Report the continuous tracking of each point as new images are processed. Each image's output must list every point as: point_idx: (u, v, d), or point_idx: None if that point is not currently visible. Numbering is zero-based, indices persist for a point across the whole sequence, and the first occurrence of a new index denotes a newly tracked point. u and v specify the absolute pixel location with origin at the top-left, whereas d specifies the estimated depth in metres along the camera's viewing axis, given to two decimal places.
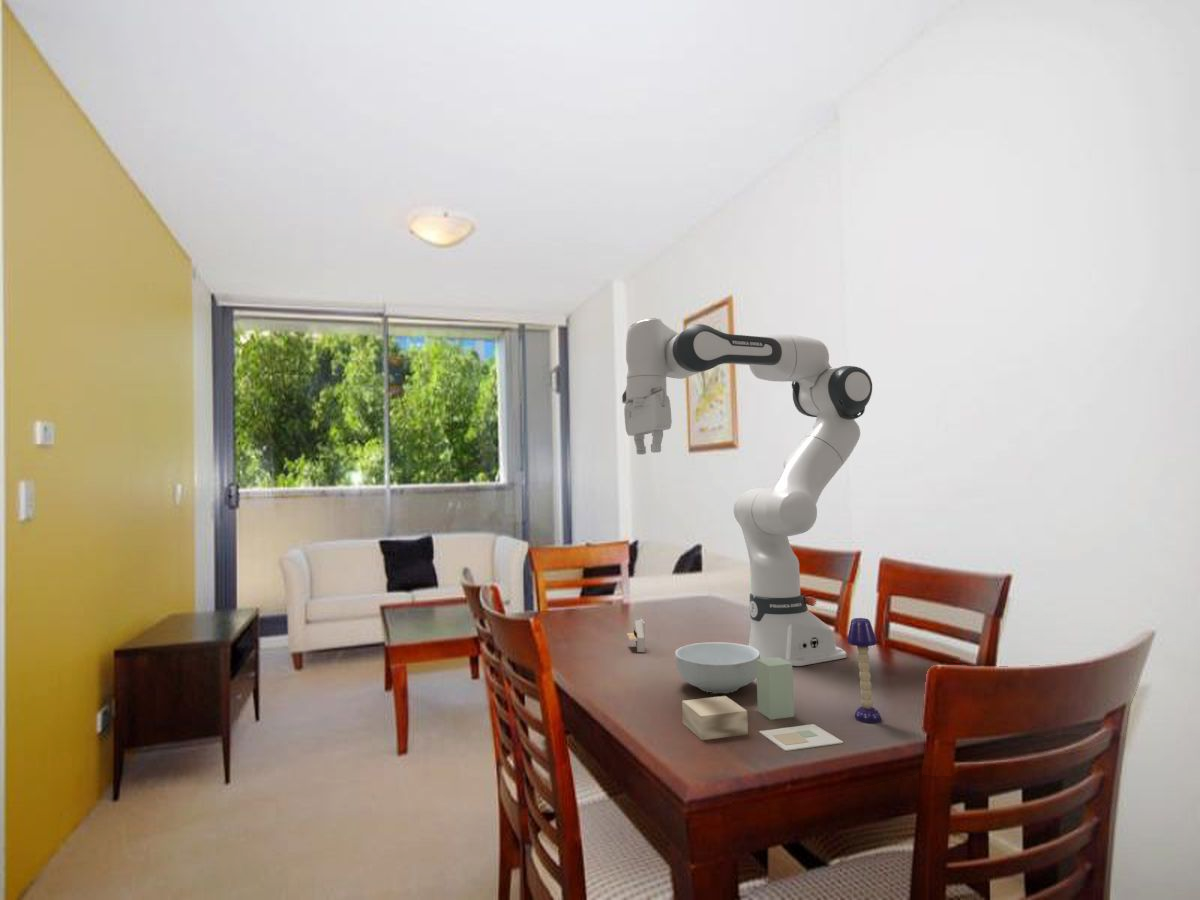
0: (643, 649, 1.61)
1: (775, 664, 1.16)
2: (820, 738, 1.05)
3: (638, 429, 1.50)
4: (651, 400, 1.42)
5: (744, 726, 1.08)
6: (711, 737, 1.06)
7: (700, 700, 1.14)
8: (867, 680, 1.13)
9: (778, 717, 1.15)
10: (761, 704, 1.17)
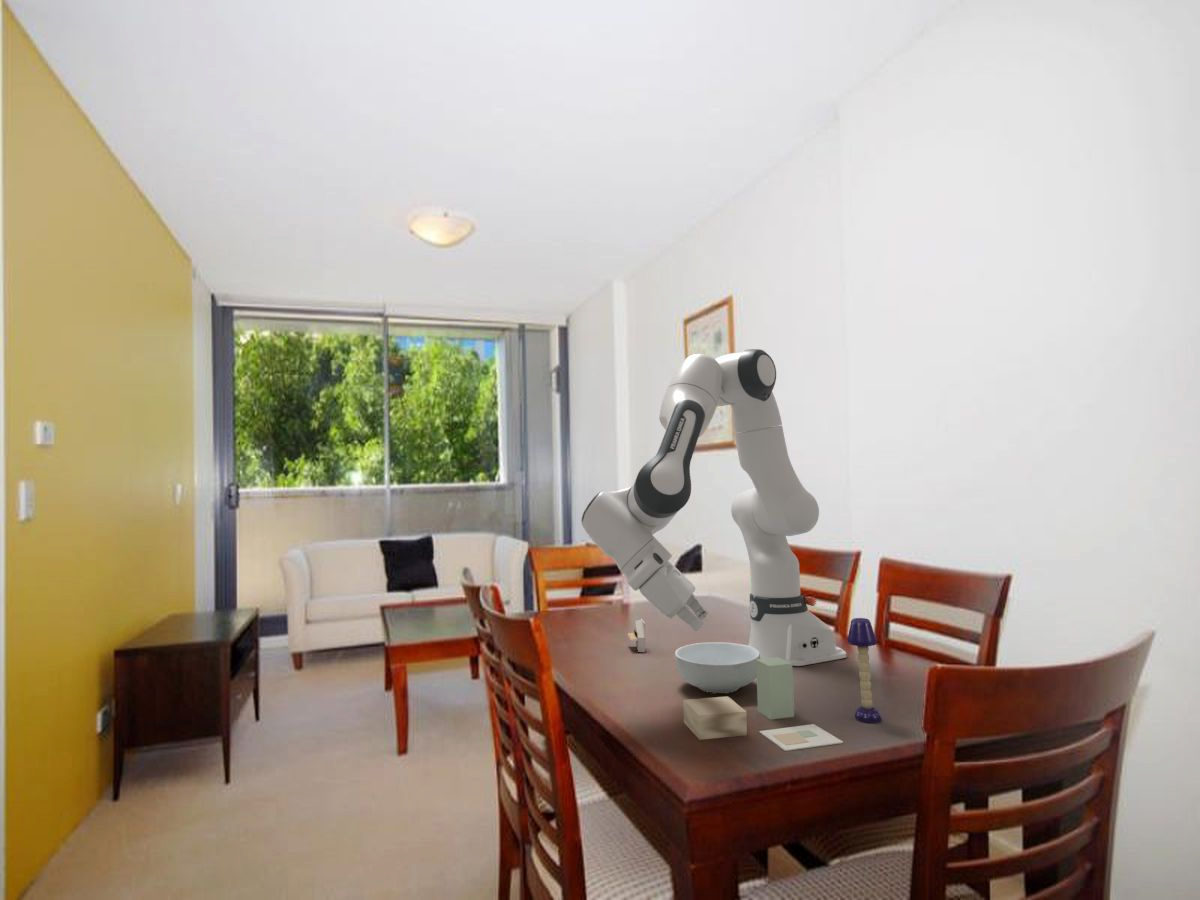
0: (643, 649, 1.61)
1: (775, 664, 1.16)
2: (820, 738, 1.05)
3: (687, 593, 1.21)
4: (673, 566, 1.30)
5: (743, 727, 1.08)
6: (709, 737, 1.06)
7: (701, 700, 1.14)
8: (867, 680, 1.13)
9: (778, 717, 1.15)
10: (761, 704, 1.17)
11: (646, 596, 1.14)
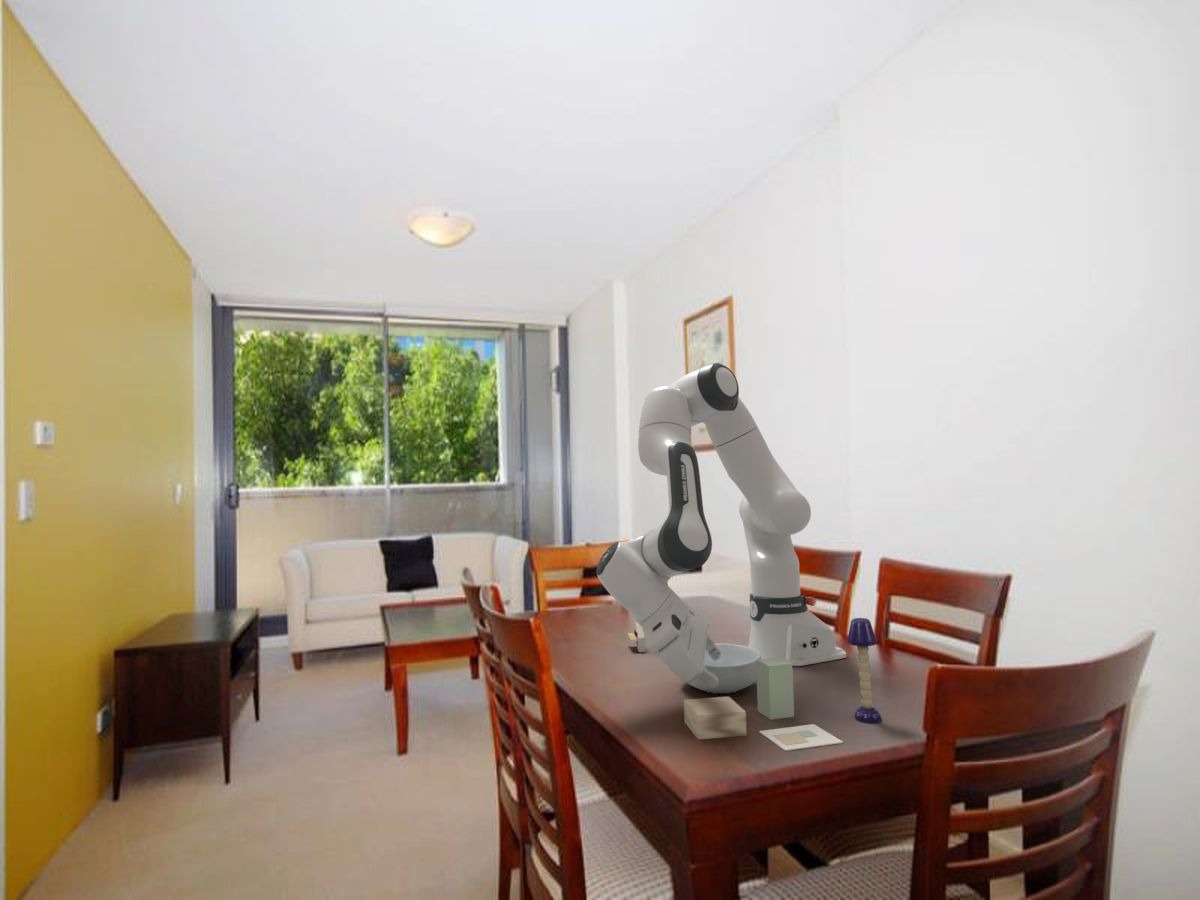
0: (644, 649, 1.61)
1: (775, 664, 1.16)
2: (820, 738, 1.05)
3: (703, 646, 1.23)
4: (687, 605, 1.31)
5: (742, 727, 1.07)
6: (708, 737, 1.06)
7: (702, 700, 1.14)
8: (867, 680, 1.13)
9: (778, 717, 1.15)
10: (761, 704, 1.17)
11: (665, 663, 1.16)
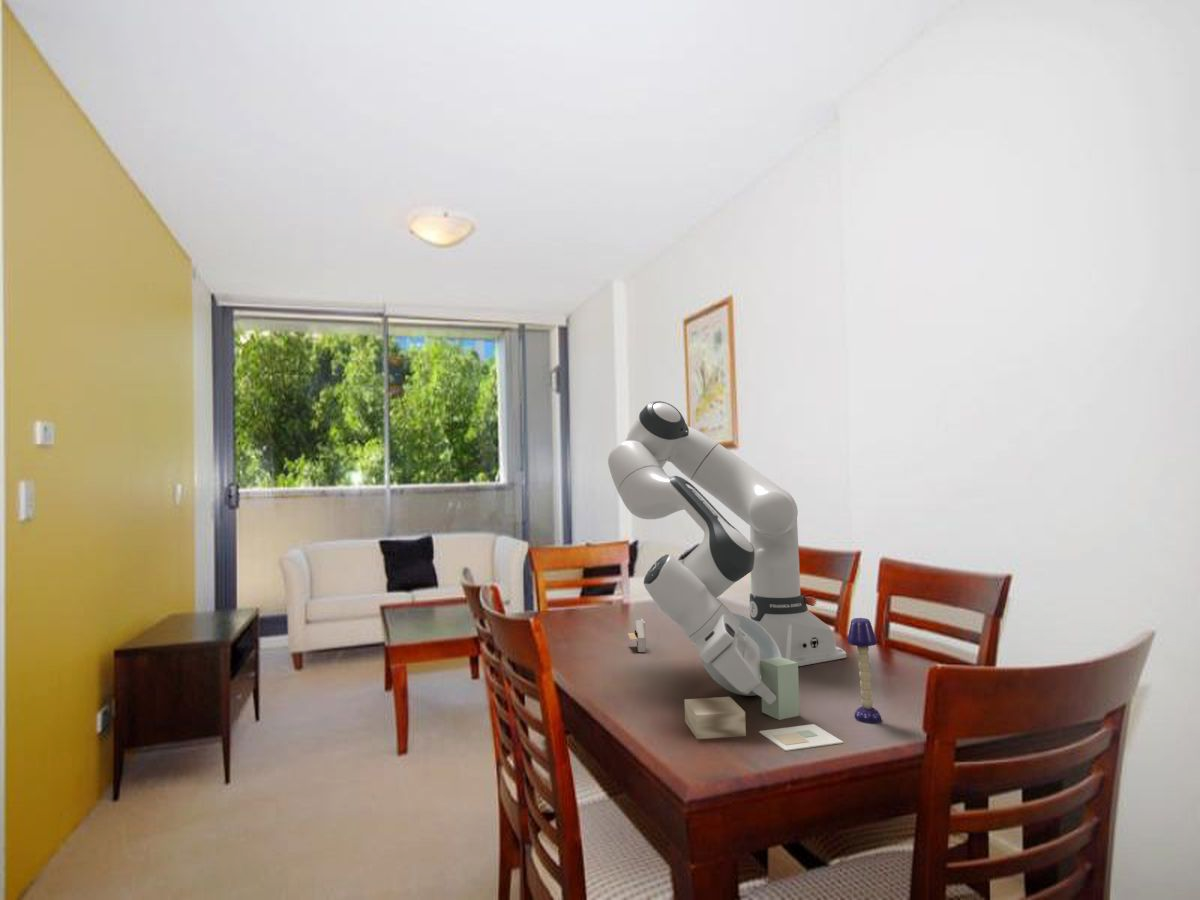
0: (644, 649, 1.61)
1: (782, 664, 1.15)
2: (820, 738, 1.05)
3: (757, 662, 1.18)
4: None
5: (742, 727, 1.07)
6: (707, 736, 1.07)
7: (702, 700, 1.14)
8: (867, 680, 1.13)
9: (786, 717, 1.15)
10: (766, 705, 1.17)
11: (720, 672, 1.11)
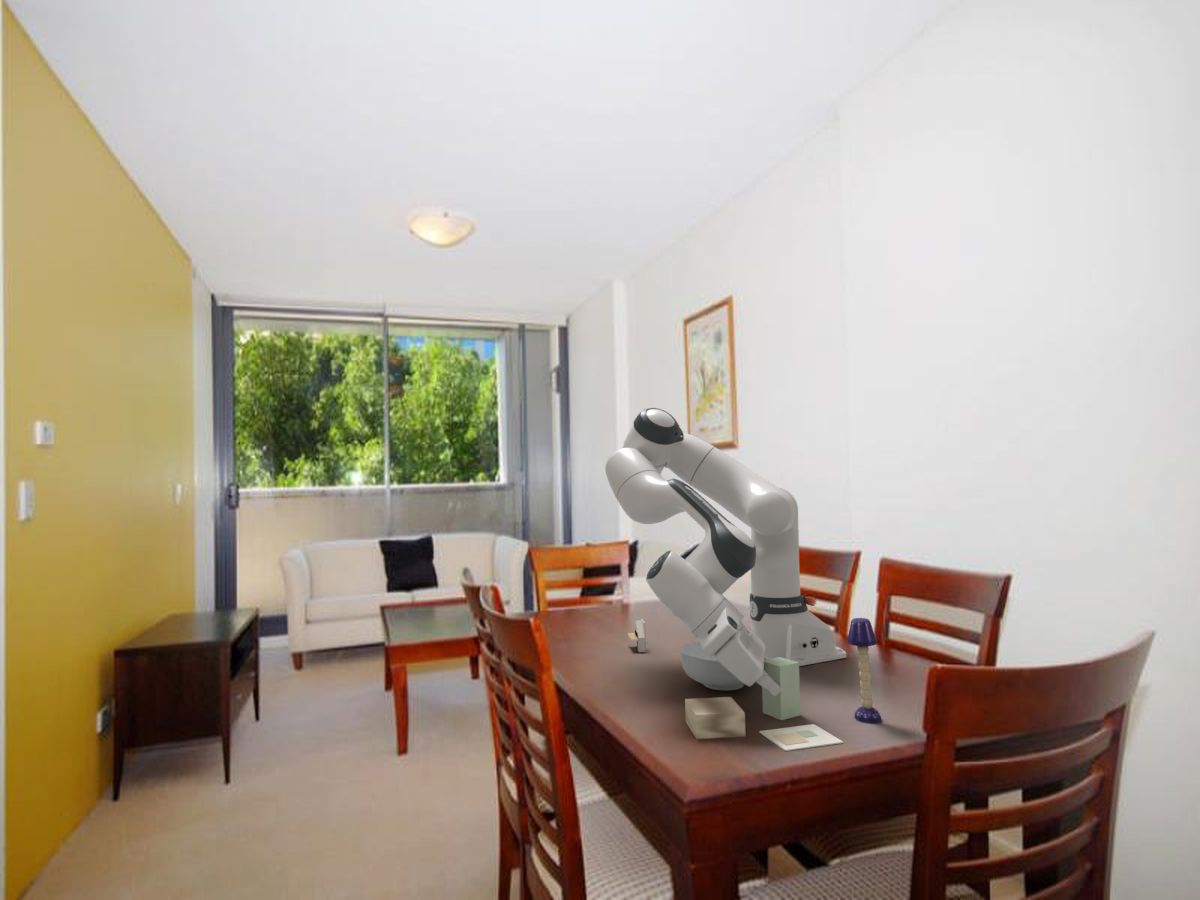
0: (644, 649, 1.61)
1: (784, 664, 1.15)
2: (820, 738, 1.05)
3: (762, 656, 1.17)
4: (742, 623, 1.27)
5: (741, 728, 1.07)
6: (706, 736, 1.07)
7: (703, 699, 1.14)
8: (867, 680, 1.13)
9: (788, 717, 1.14)
10: (768, 706, 1.17)
11: (723, 664, 1.10)
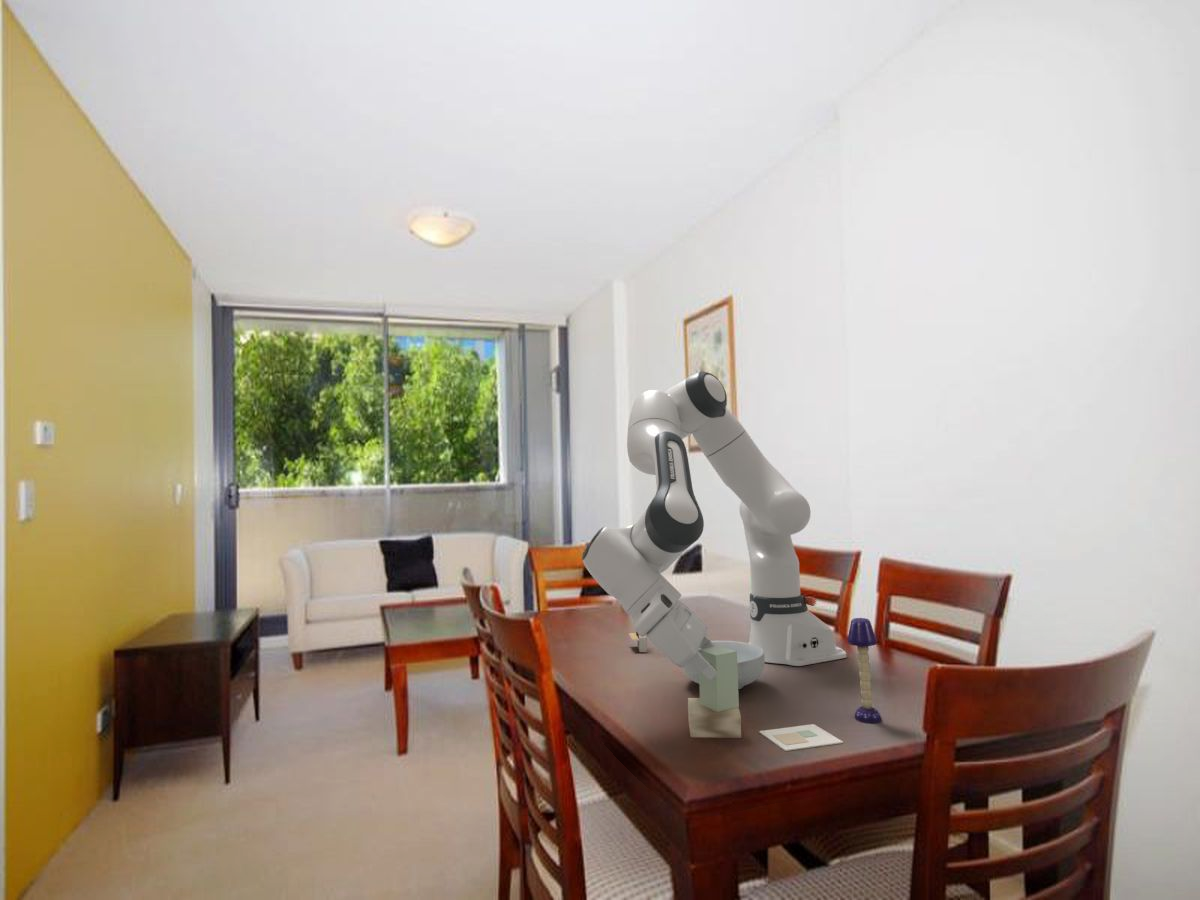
0: (645, 649, 1.61)
1: (721, 653, 1.10)
2: (820, 738, 1.05)
3: (699, 637, 1.11)
4: (683, 604, 1.21)
5: (737, 729, 1.07)
6: (701, 736, 1.07)
7: None
8: (867, 680, 1.13)
9: (724, 709, 1.09)
10: (704, 697, 1.11)
11: (654, 644, 1.04)
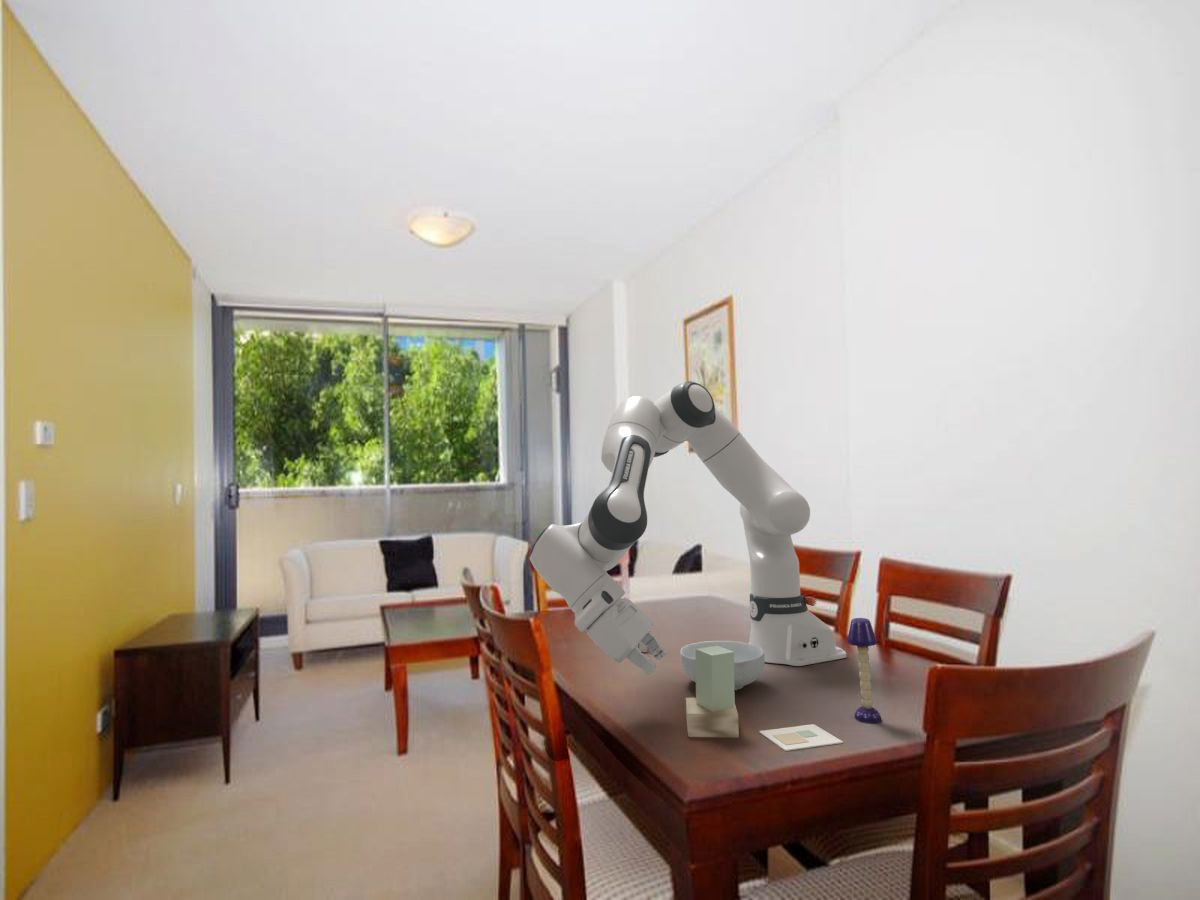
0: (645, 649, 1.61)
1: (717, 653, 1.10)
2: (820, 738, 1.05)
3: (641, 633, 1.13)
4: (629, 601, 1.22)
5: (735, 729, 1.07)
6: (698, 735, 1.07)
7: None
8: (867, 680, 1.13)
9: (719, 709, 1.09)
10: (700, 696, 1.11)
11: (593, 639, 1.06)
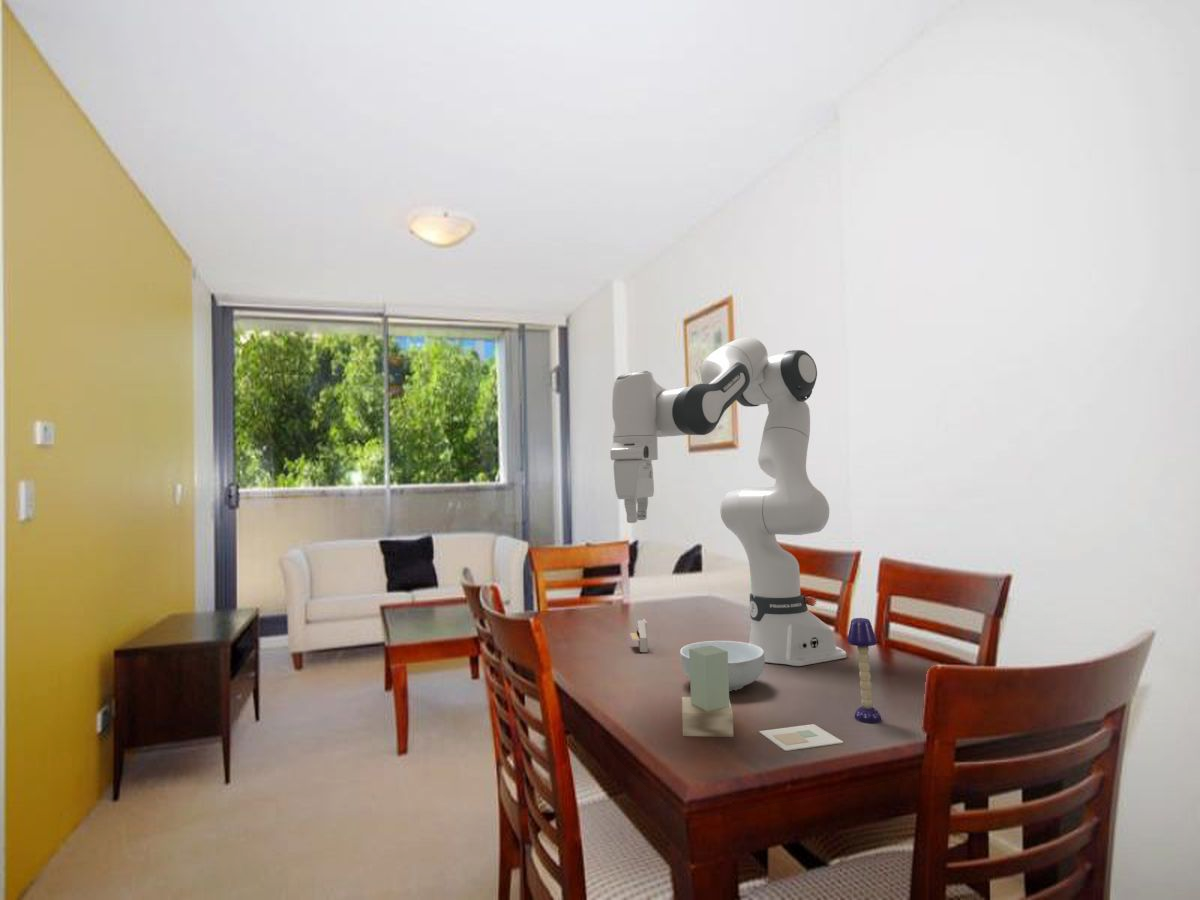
0: (646, 649, 1.61)
1: (711, 653, 1.10)
2: (820, 738, 1.05)
3: (644, 494, 1.32)
4: (651, 467, 1.41)
5: (729, 729, 1.07)
6: (693, 735, 1.08)
7: None
8: (867, 680, 1.13)
9: (714, 708, 1.09)
10: (695, 696, 1.11)
11: (615, 469, 1.25)
